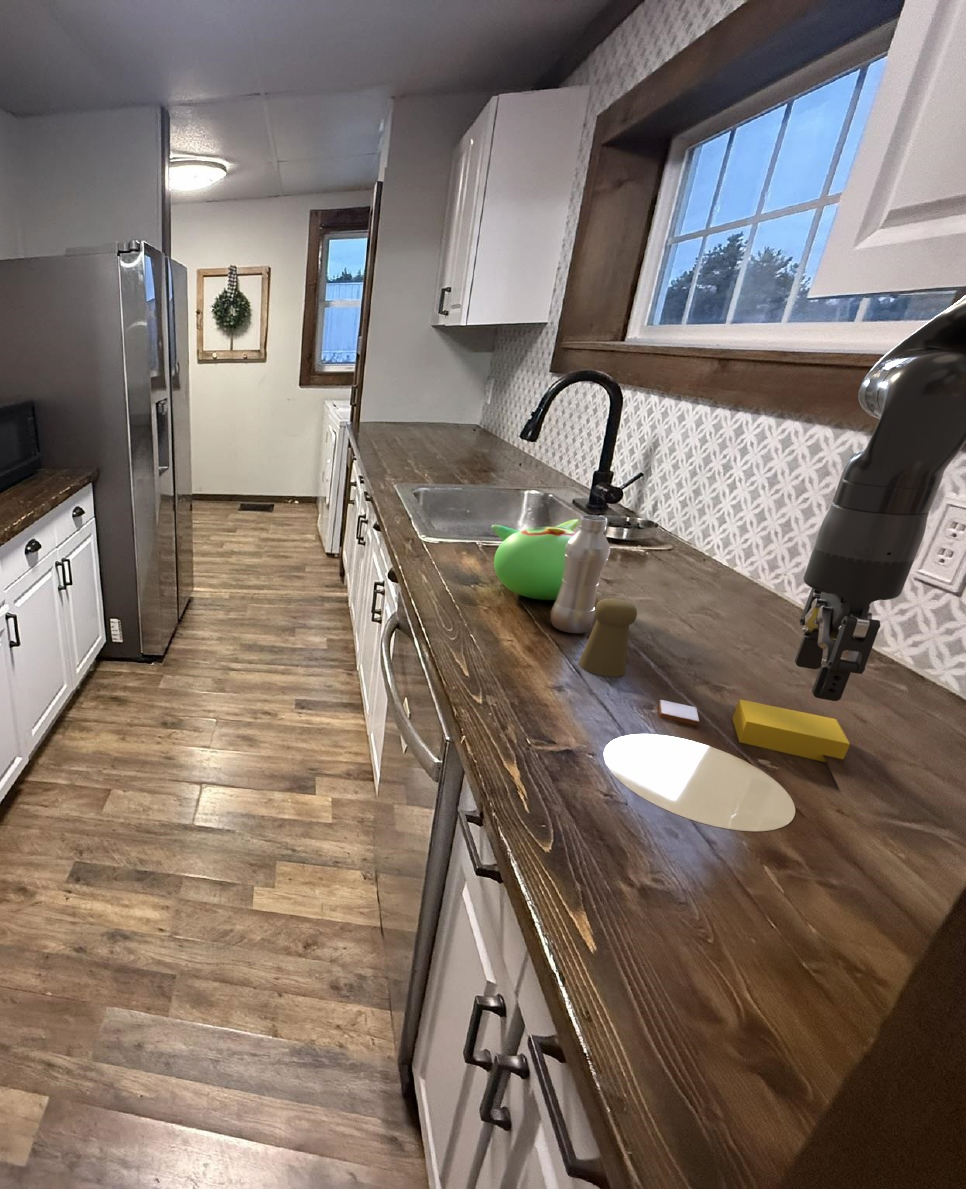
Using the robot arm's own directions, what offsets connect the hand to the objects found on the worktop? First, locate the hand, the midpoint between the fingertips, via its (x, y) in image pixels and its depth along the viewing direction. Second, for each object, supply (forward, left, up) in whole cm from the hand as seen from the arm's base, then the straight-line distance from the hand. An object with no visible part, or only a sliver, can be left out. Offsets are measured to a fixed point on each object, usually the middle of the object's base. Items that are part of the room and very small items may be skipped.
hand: (815, 681), depth 73 cm
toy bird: (+30, -41, -10) cm, 52 cm away
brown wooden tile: (+11, -1, -10) cm, 15 cm away
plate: (+10, +14, -10) cm, 20 cm away
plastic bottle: (+24, -26, -10) cm, 37 cm away
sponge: (+1, 0, -10) cm, 10 cm away
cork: (+19, -13, -10) cm, 25 cm away
